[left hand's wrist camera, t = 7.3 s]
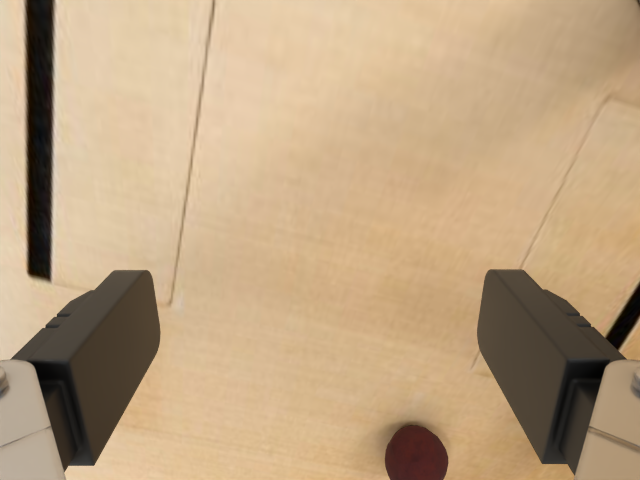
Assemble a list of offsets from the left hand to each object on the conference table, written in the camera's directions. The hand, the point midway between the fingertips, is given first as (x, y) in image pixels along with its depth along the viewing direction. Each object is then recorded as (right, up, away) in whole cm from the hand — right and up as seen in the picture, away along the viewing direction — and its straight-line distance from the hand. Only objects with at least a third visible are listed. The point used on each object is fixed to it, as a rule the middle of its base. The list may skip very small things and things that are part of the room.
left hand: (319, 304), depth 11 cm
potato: (+11, -23, +46) cm, 53 cm away
